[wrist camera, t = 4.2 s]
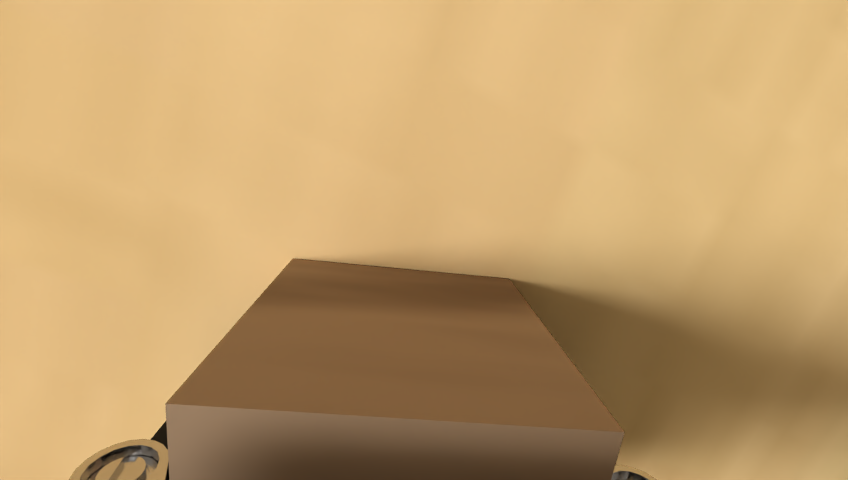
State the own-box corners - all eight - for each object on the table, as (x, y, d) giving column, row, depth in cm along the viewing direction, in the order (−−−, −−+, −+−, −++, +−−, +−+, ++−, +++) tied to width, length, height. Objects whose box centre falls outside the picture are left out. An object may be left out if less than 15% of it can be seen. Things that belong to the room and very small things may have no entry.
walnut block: (292, 258, 11) (165, 403, 5) (509, 278, 11) (624, 432, 5) (285, 444, 12) (181, 724, 6) (477, 454, 13) (541, 723, 7)
